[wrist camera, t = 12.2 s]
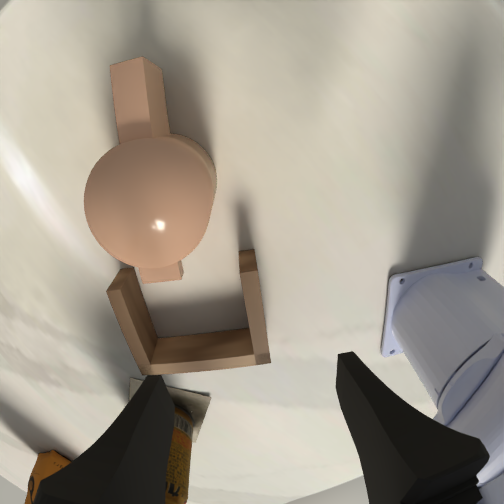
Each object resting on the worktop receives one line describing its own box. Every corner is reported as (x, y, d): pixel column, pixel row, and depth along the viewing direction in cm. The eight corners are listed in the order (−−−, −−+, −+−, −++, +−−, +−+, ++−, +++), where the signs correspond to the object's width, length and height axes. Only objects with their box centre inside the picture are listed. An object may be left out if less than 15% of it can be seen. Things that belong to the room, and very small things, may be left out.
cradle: (254, 249, 20) (257, 270, 18) (266, 335, 23) (271, 363, 20) (120, 269, 20) (106, 291, 18) (150, 348, 23) (142, 375, 20)
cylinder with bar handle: (225, 234, 20) (222, 275, 15) (135, 246, 20) (107, 288, 15) (202, 64, 16) (189, 42, 11) (105, 86, 16) (62, 78, 11)
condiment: (128, 426, 28) (107, 523, 17) (130, 376, 25) (97, 495, 14) (195, 441, 29) (190, 540, 18) (211, 394, 26) (207, 518, 15)
